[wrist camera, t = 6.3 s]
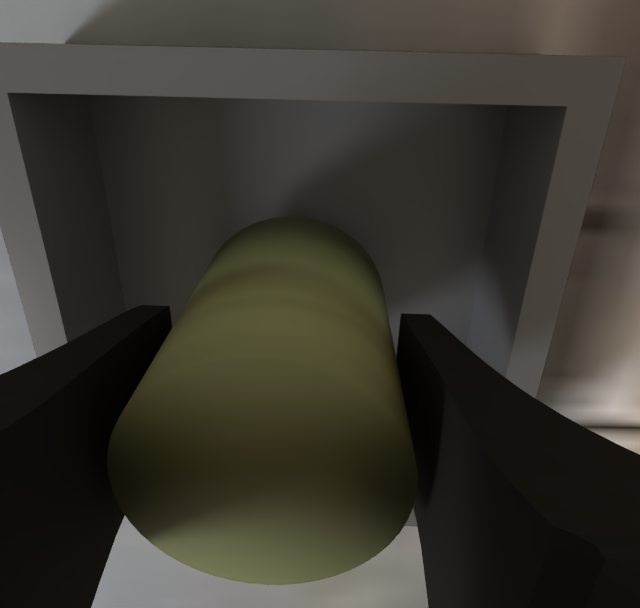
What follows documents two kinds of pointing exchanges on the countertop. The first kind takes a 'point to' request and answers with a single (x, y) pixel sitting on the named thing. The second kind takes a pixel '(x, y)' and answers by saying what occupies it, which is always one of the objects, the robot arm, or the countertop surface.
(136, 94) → the bin
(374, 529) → the green cylinder
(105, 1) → the countertop surface
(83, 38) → the countertop surface
